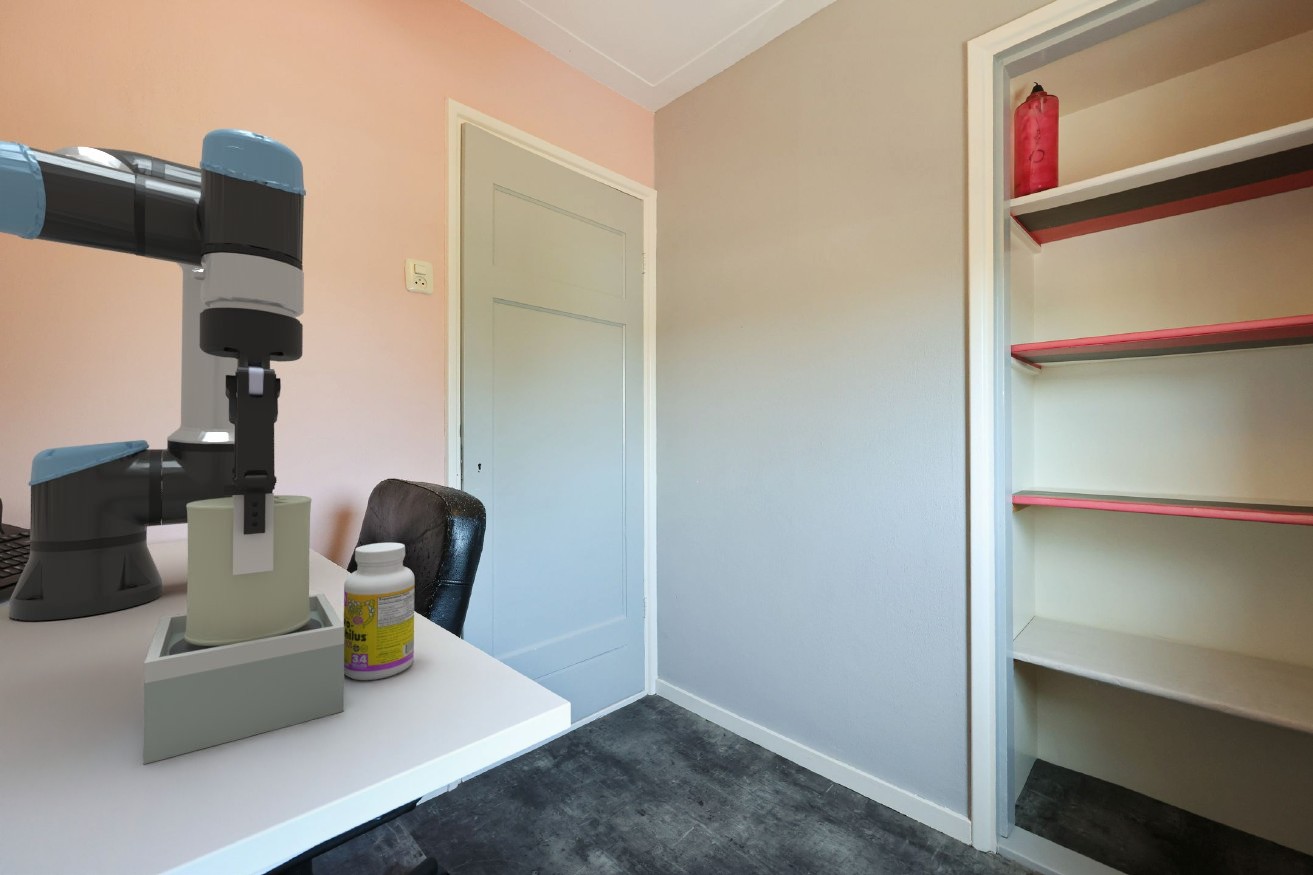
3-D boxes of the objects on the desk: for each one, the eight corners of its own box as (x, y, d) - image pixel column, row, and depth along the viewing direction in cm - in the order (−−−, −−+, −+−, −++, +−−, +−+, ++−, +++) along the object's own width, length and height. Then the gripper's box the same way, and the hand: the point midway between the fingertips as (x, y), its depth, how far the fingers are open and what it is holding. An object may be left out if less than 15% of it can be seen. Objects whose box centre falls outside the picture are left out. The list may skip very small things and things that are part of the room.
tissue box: (160, 697, 51) (161, 616, 51) (323, 662, 59) (323, 593, 59) (143, 764, 40) (144, 662, 40) (343, 711, 48) (344, 626, 48)
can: (245, 650, 44) (246, 502, 44) (154, 641, 46) (156, 498, 46) (334, 614, 53) (335, 491, 53) (255, 608, 55) (256, 489, 55)
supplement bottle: (333, 668, 57) (334, 546, 57) (398, 651, 62) (399, 538, 62) (356, 689, 53) (357, 556, 53) (424, 668, 57) (425, 546, 58)
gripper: (204, 326, 56) (201, 546, 56) (193, 279, 39) (190, 596, 39) (291, 335, 60) (290, 538, 60) (317, 296, 43) (314, 579, 43)
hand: (251, 561), depth 50 cm, fingers closed on can, 9 cm apart
